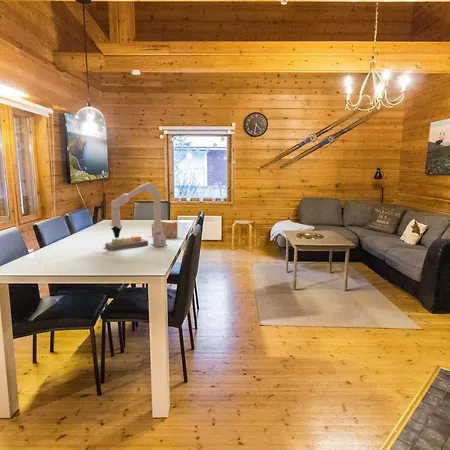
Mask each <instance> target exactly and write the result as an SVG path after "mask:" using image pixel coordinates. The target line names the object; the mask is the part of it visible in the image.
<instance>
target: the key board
mask: <svg viewBox="0 0 450 450" xmlns="http://www.w3.org/2000/svg"><path fill="white" fill-rule="evenodd" d="M148 245H149V241H148V240H146V239H143V238H141V241H137V242H133V241H132V242H130V243H123V242H122V244H116V245H115V244H112V241H111V242H105V245H104V246H105V248H106V249H109V250H110V251H119V250H124V249H131V248H137V247H138V248H139V247H143V246H144V247H146V246H148Z"/></svg>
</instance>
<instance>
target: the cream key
mask: <svg viewBox="0 0 450 450" xmlns="http://www.w3.org/2000/svg"><path fill="white" fill-rule="evenodd" d="M121 239H122V242H123V243H130V242H132V238H131V236H125V237H124V236H123V237H121Z"/></svg>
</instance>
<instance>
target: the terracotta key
mask: <svg viewBox="0 0 450 450" xmlns="http://www.w3.org/2000/svg"><path fill="white" fill-rule="evenodd" d="M130 237H131V238H132V241H133V242H137V241H141V239H142V236H140V235H133V236H130Z"/></svg>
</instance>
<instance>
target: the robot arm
mask: <svg viewBox="0 0 450 450" xmlns="http://www.w3.org/2000/svg"><path fill="white" fill-rule="evenodd" d="M145 192H147V193H148V194H150V195H151V196H152V197H153V223H152V224H153V229H154V231H153V235H152V243H150V245H152V246H153V247H154V246H155V247H163V246H168V244H167V237H166V236H165V235H164V234H163V226H162V221H163V220H162V205H161V203H162V201H161V200H162V199H161V193H160V191H159V190H158V188H157V186H156V185H154V184H153V183H151V182H146V183H144V184H142V185H139V186H137V187H136V188H134V189H133V190H132V191H130V192H129V193H121V194H120V196H118V197H115V199H113V200H111V202H110V204H109V205H110V207H111V208H110V210H111V211H110V217H111V219H110V220H111V223H110V224H109V226H110V227H111V231H112V232H113V235H114V239H116V238H120V234H121V230H122V229H123V225H122V224H121V211H120V207H121V206H124V205H125V204H127V203H128V202H130V200H131V198H133V197H134V196H136V195H138V194H139V193H145Z"/></svg>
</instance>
